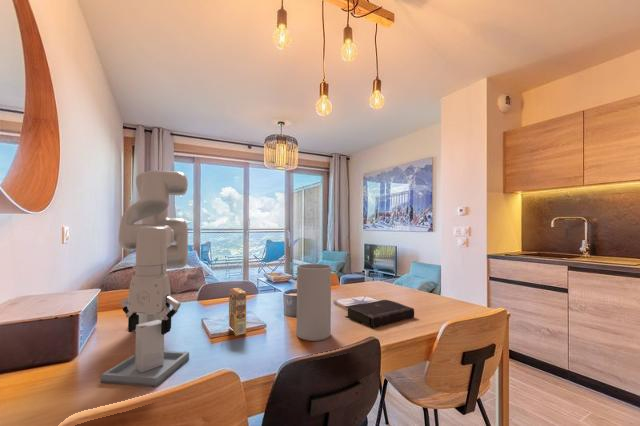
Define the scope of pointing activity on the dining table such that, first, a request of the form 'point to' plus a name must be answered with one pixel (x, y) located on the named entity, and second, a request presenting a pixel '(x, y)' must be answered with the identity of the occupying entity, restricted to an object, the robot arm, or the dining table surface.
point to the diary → (379, 313)
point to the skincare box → (149, 346)
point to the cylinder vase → (313, 302)
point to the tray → (152, 377)
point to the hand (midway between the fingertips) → (149, 331)
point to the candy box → (237, 310)
